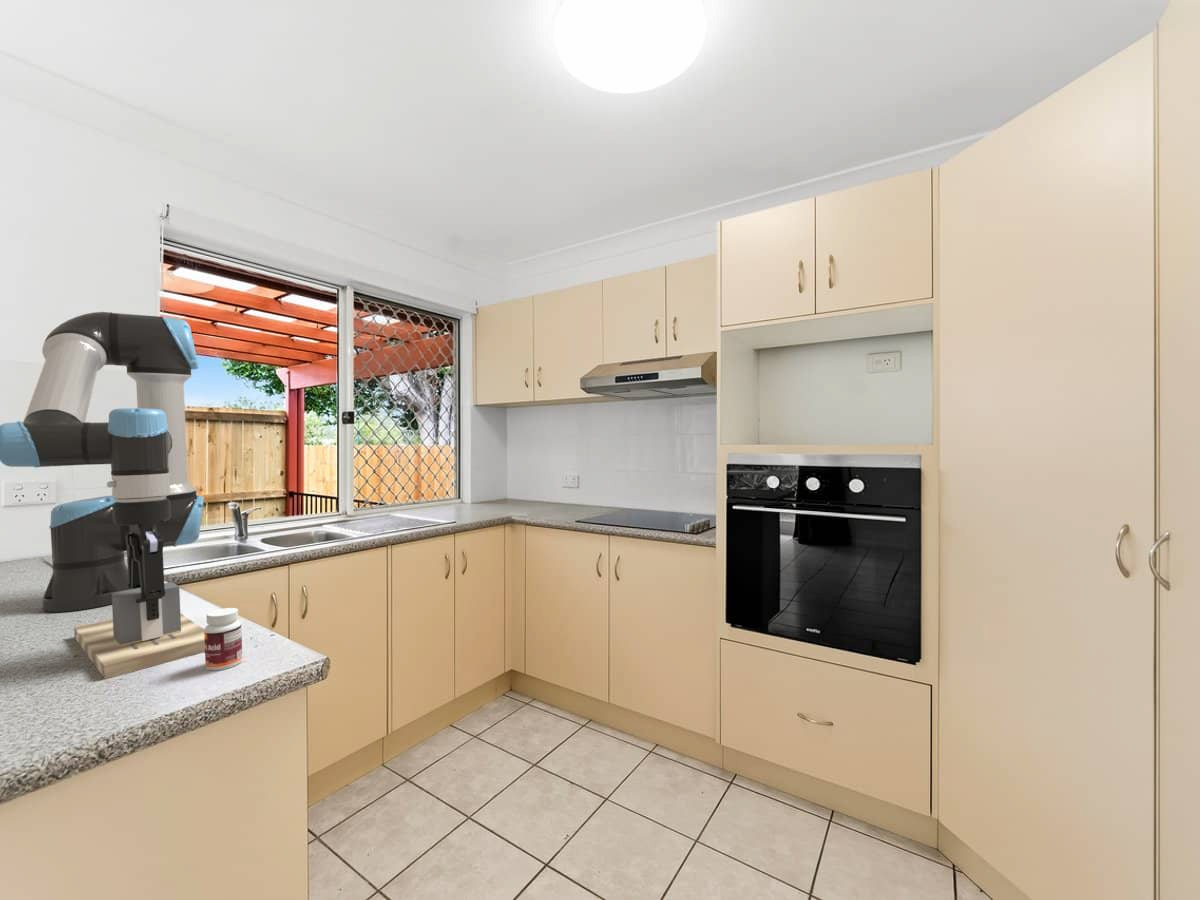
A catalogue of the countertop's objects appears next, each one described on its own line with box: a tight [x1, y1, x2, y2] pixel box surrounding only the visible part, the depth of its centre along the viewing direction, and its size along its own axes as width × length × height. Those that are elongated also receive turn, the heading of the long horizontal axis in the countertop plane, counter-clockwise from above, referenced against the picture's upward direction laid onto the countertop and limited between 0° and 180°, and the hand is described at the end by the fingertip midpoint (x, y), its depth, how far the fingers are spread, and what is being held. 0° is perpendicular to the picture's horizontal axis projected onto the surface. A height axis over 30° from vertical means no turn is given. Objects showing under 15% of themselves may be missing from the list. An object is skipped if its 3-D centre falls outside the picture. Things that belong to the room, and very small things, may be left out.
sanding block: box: [111, 581, 181, 647], centre depth 91 cm, size 8×5×8 cm, turn 142°
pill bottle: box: [204, 607, 243, 671], centre depth 83 cm, size 5×5×8 cm
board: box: [73, 612, 205, 680], centre depth 93 cm, size 28×14×2 cm, turn 51°
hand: (148, 634), depth 91 cm, fingers closed on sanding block, 5 cm apart
